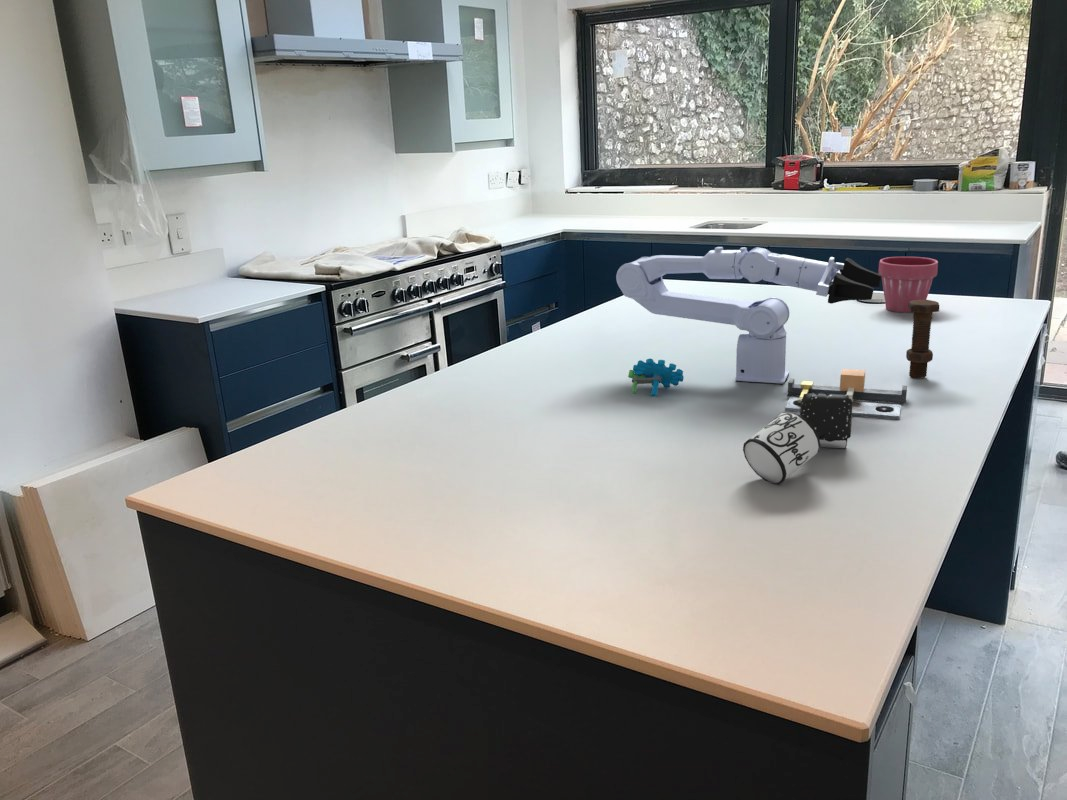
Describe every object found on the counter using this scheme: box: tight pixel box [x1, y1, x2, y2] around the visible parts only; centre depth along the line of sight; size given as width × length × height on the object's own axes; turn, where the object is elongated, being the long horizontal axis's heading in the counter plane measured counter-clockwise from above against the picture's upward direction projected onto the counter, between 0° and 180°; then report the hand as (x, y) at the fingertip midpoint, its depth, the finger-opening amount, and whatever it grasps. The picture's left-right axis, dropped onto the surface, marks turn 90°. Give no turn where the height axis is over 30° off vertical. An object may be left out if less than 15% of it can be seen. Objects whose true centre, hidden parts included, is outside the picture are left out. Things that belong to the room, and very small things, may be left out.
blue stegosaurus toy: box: [627, 358, 685, 397], centre depth 171 cm, size 11×6×10 cm
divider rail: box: [787, 377, 908, 405], centre depth 160 cm, size 21×10×3 cm, turn 67°
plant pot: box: [877, 256, 939, 313], centre depth 229 cm, size 14×14×13 cm
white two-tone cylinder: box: [742, 393, 853, 485], centre depth 132 cm, size 25×10×10 cm, turn 138°
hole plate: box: [784, 396, 902, 420], centre depth 156 cm, size 19×6×1 cm, turn 67°
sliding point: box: [839, 368, 866, 401], centre depth 159 cm, size 4×10×4 cm, turn 157°
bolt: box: [905, 299, 940, 380], centre depth 170 cm, size 6×5×15 cm
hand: (876, 287), depth 162 cm, fingers open, 7 cm apart
